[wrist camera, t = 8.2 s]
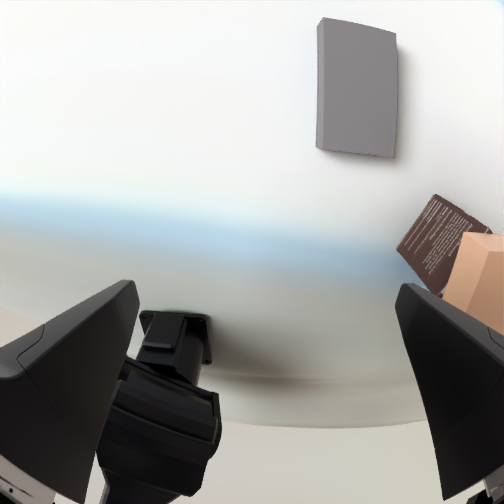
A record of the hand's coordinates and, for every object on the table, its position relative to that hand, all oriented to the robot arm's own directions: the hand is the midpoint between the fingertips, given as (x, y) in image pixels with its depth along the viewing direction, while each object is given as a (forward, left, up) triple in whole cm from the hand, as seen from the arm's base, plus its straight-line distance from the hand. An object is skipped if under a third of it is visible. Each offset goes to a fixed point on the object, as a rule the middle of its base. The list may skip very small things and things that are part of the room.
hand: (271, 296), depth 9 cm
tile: (-3, -15, -5) cm, 16 cm away
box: (-3, -15, -12) cm, 20 cm away
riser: (+8, -6, -12) cm, 16 cm away
